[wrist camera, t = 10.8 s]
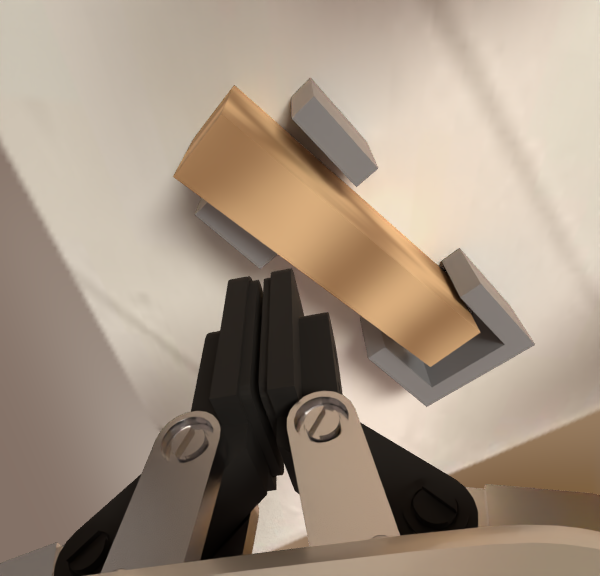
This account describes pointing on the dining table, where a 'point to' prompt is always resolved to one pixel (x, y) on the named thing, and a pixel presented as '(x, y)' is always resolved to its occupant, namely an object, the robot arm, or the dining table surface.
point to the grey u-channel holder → (467, 358)
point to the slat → (323, 228)
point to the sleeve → (328, 137)
